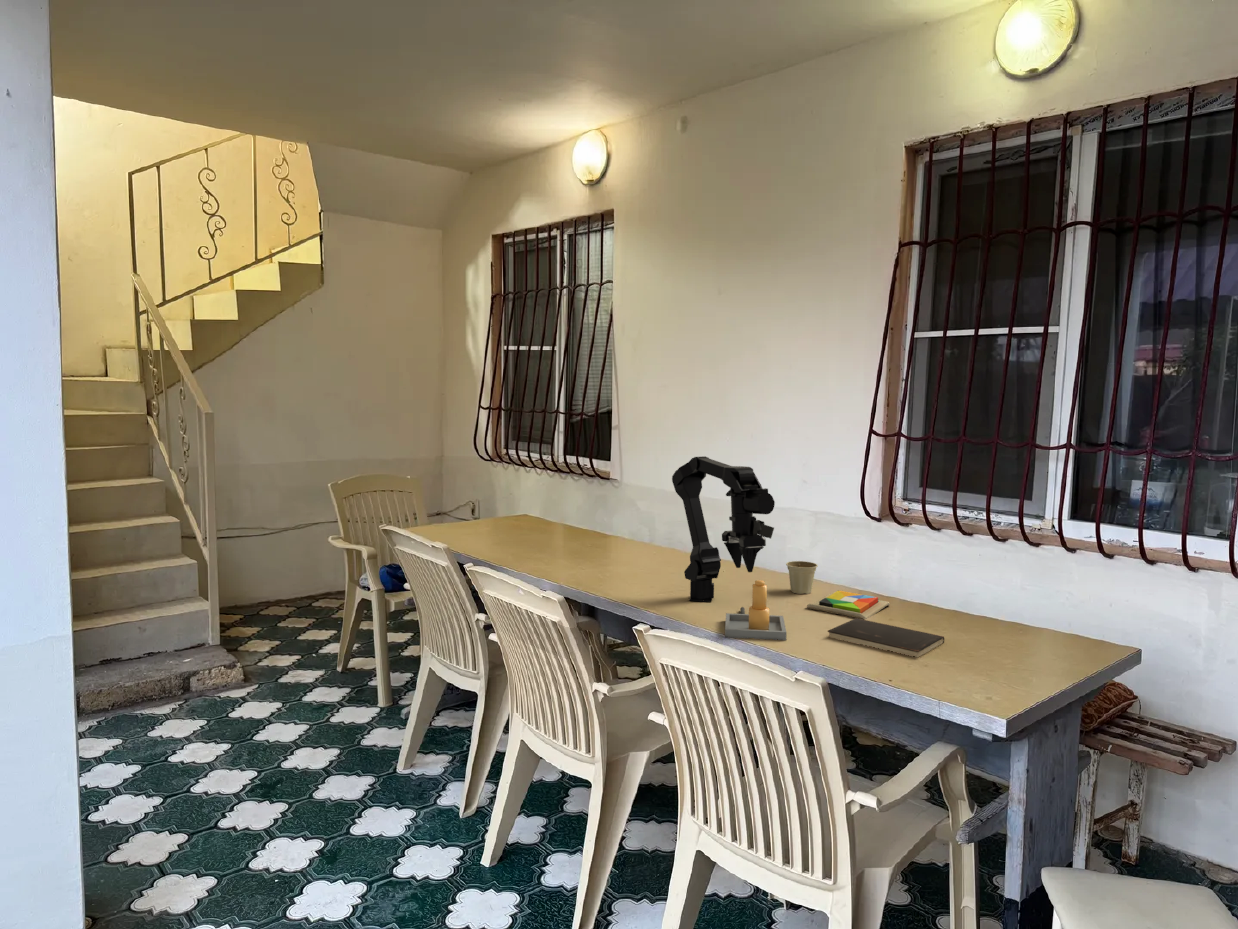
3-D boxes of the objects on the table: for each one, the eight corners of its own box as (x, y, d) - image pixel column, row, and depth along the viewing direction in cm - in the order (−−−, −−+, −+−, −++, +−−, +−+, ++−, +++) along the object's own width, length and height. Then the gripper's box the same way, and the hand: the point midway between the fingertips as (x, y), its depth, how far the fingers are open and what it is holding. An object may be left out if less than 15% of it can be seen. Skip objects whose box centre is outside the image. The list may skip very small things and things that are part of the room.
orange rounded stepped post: (745, 630, 207) (746, 582, 206) (753, 625, 211) (754, 578, 210) (764, 633, 204) (765, 584, 203) (772, 628, 209) (773, 580, 207)
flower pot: (817, 596, 244) (818, 568, 243) (785, 594, 245) (786, 566, 245) (816, 589, 253) (817, 561, 252) (785, 587, 255) (786, 560, 254)
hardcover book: (917, 660, 188) (918, 651, 187) (827, 639, 203) (827, 630, 203) (944, 645, 199) (944, 635, 199) (856, 626, 215) (857, 617, 215)
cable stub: (740, 620, 217) (740, 616, 217) (740, 610, 227) (740, 606, 227) (745, 621, 217) (745, 616, 217) (744, 610, 227) (744, 606, 227)
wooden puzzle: (805, 610, 230) (805, 598, 230) (834, 597, 245) (834, 586, 244) (864, 622, 219) (864, 609, 219) (891, 607, 233) (891, 595, 233)
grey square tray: (725, 637, 203) (725, 629, 202) (725, 620, 217) (725, 613, 217) (786, 640, 200) (786, 632, 200) (782, 623, 215) (783, 615, 215)
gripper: (783, 513, 214) (785, 572, 214) (757, 509, 232) (759, 563, 233) (743, 515, 212) (745, 575, 212) (720, 511, 230) (722, 566, 230)
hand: (744, 570), depth 222 cm, fingers open, 9 cm apart
